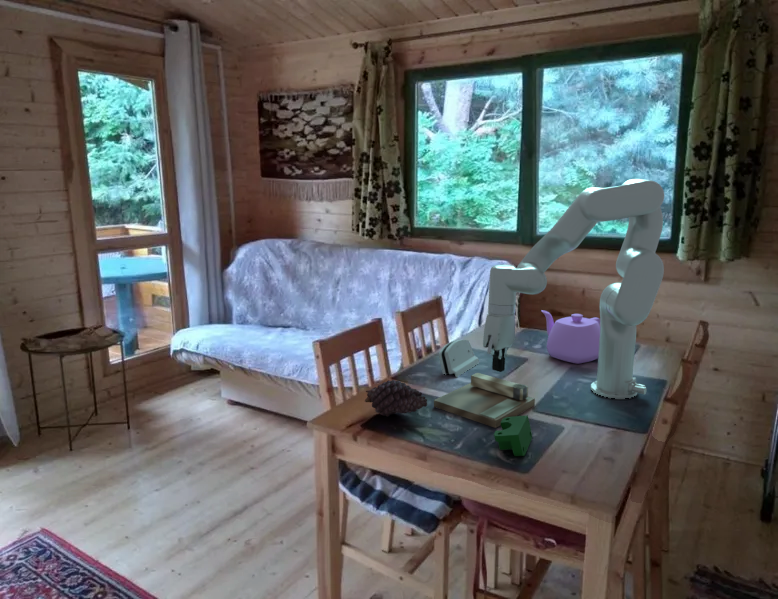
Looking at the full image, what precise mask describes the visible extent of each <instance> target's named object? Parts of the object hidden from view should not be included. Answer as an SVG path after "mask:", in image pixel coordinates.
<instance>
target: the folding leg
mask: <svg viewBox="0 0 778 599" xmlns="http://www.w3.org/2000/svg"><path fill="white" fill-rule="evenodd" d="M470 383H471V386H475V387H478V388H481V389H485V390H488V391H492V392H495V393H498V394H502V395H505V396H509V397H512V398H514V399H517V400H524V399H526V398H527V397H529V386H527V385H525V384H521V383H517V382H513V381H509V380H506V379H502V378H498V377H494V376H491V375H487V374H484V373H480V372H476V373H474V374H472V375H470Z"/></svg>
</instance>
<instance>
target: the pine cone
mask: <svg viewBox="0 0 778 599" xmlns="http://www.w3.org/2000/svg"><path fill="white" fill-rule="evenodd" d="M365 392H366V396H367V397H366V398H365V399H364V402H365V403H370V404H371V407H372V408H374V410H375V412H376V413H377V414H378V413H379V414H380V415H381V416H385V417H387V418H389V417H390V415H395V414H407V413H408V414H409V413H412V412H413V413H414V412H417V411H418V410H420V409H422V408H423V407H424V408H425V407H426V408H427V406H428V398H426V396H425V395H424V396H423V395H422V394H423V393H422V392H421V391H420V390H417V389H416V388H412V387H411V386H410V385H407V384H406V382H401V381H400V380H394V379H392V380H387V381H384V382H382V383H380V384H378V385H377V387H376V386H375V387H373V388H371V389H367V390H365Z"/></svg>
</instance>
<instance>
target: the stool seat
mask: <svg viewBox="0 0 778 599" xmlns="http://www.w3.org/2000/svg"><path fill="white" fill-rule="evenodd" d="M535 405H536V399H535V398H534V397H531V396H528V397H527V398H526V399H524V400H517V399H514V398H512V397H509V396H505V395H502V394H498V393H495V392H492V391H488V390H485V389H481V388H478V387H475V386H471V382H469V383H467V384H464V385H463V386H461V387H459V388H457V389H455V390H451V391H450V392H448V393H446V394H444V395H442V396H440V397H437V398H436V399H434V400H433V407H434V408H436V407H437V408H436V409H438V408H439V410H441V409H442V411H444V410H445V412H448V413H450V414H453V415H456V416H458V417H462V418H465V419H467V420H471V421H474V422H478V423H480V424H483V425H486V426H489V427H492V428H494V429H497V428H498V427H501V421H502V419H503V418H506V417H513V416H520V415H521V414H522V413H524V412H525V411H527V410H529V409H530V408H532V407H534V406H535Z"/></svg>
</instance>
